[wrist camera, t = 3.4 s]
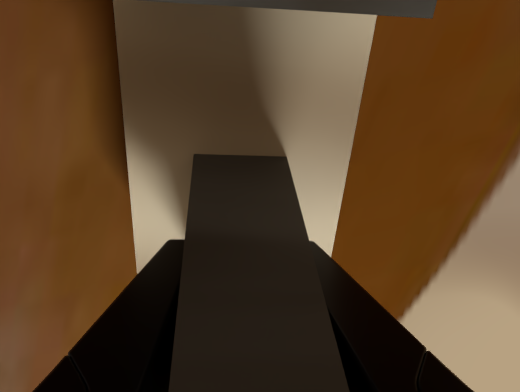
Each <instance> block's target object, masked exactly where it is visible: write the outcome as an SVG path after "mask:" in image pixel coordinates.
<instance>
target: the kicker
mask: <svg viewBox="0 0 520 392" xmlns="http://www.w3.org/2000/svg"><path fill="white" fill-rule="evenodd" d="M436 2H437V0H113V7H114V19H115V30H116V41H117V52H118V64H119V75H120V86H121V97H122V109H123V120H124V131H125V142H126V154H127V165H128V176H129V187H130V198H131V210H132V221H133V232H134V243H135V255H136V266H137V274H138V273H139V272H140V271H141V270H142V269H143V267H144V266H145V265H146V264H147V263H148V262H149V261H150V260H151V258H152V257H153V256H154V255H155V254H156V253H157V252H158V251H159V249H160V248H161V247H162V246H163V245H164V244H165V243H166V241H168V240H169V239H185V241H184V250H183V260H182V269H181V279H180V288H179V298H178V307H177V317H176V326H175V335H174V345H173V354H172V364H171V373H170V383H169V392H350V391H349V388H348V384H347V380H346V376H345V373H344V369H343V365H342V361H341V358H340V354H339V350H338V346H337V343H336V339H335V335H334V332H333V328H332V324H331V320H330V317H329V313H328V309H327V305H326V302H325V298H324V294H323V290H322V287H321V283H320V279H319V275H318V272H317V268H316V264H315V260H314V257H313V253H312V249H311V245H310V242H309V241H314V242H315V243H316V244H317V245H318V246H319V247H320V248H322V249H323V250H324V251H325V252H326V253H327V254H328V255H329V256H330V257H331V254H332V249H333V244H334V239H335V233H336V228H337V223H338V218H339V212H340V207H341V202H342V197H343V191H344V186H345V181H346V175H347V170H348V165H349V160H350V154H351V149H352V144H353V139H354V133H355V128H356V123H357V118H358V112H359V107H360V102H361V96H362V91H363V86H364V81H365V75H366V70H367V65H368V60H369V54H370V49H371V44H372V39H373V33H374V28H375V23H376V17H377V15H384V16H401V17H417V18H433V14H434V10H435V6H436Z"/></svg>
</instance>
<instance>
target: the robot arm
mask: <svg viewBox="0 0 520 392" xmlns="http://www.w3.org/2000/svg"><path fill="white" fill-rule="evenodd" d="M184 241H185V239H169V240H168V241H166V243H165V244H164V245H163V246H162V247H161V248H160V249H159V251H158V252H157V253H156V254H155V255H154V256H153V257H152V258H151V260H150V261H149V262H148V263H147V264H146V265H145V266H144V267H143V269H142V270H141V271H140V272H139V273H138V274H137V275H136V277H135V278H134V279H133V280H132V281H131V282H130V283H129V284H128V286H127V287H126V288H125V289H124V290H123V291H122V292H121V293H120V295H119V296H118V297H117V298H116V299H115V300H114V301H113V303H112V304H111V305H110V306H109V307H108V308H107V309H106V310H105V312H104V313H103V314H102V315H101V316H100V317H99V318H98V320H97V321H96V322H95V323H94V324H93V325H92V326H91V327H90V329H89V330H88V331H87V332H86V333H85V334H84V335H83V336H82V338H81V339H80V340H79V341H78V342H77V343H76V344H75V346H74V347H73V348H72V349H71V350H70V351H69V352H68V356H64V358H63V359H62V360H61V361H60V362H59V363H58V364H57V366H56V367H55V368H54V369H53V370H52V371H51V372H50V373H49V374H48V376H47V377H46V378H45V379H44V380H43V381H42V382H41V383H40V384H39V385H38V386H37V387H36V388H35V389H34V390H33V392H169V383H170V373H171V364H172V354H173V345H174V335H175V326H176V317H177V307H178V298H179V288H180V279H181V269H182V260H183V250H184ZM309 242H310V245H311V249H312V253H313V257H314V260H315V264H316V268H317V272H318V275H319V279H320V283H321V287H322V290H323V294H324V298H325V302H326V305H327V309H328V313H329V317H330V320H331V324H332V328H333V332H334V335H335V339H336V343H337V346H338V350H339V354H340V358H341V361H342V365H343V369H344V373H345V376H346V380H347V384H348V388H349V391H350V392H474V391H473V390H471V389H470V388H469V387H468V386H467V385H465V383H463V382H462V381H461V380H460V379H459V378H458V377H457V376H456V375H455V374H454V373H452V372H451V371H450V370H449V369H448V368H447V367H446V366H445V365H444V364H443V363H442V362H440V360H438V359H437V358H436V357H435V356H434V355H433V354H432V353H431V352H430V351H426V347H425V346H424V345H422V344H421V343H420V342H419V341H418V340H417V339H416V338H415V337H414V336H413V335H412V334H411V333H410V332H409V331H408V330H407V329H406V328H405V327H404V326H403V325H401V324H400V323H399V322H398V321H397V320H396V319H395V318H394V317H393V316H392V315H391V314H390V313H389V312H388V311H387V310H386V309H385V308H384V307H383V306H381V305H380V304H379V303H378V302H377V301H376V300H375V299H374V298H373V297H372V296H371V295H370V294H369V293H368V292H367V291H366V290H365V289H364V288H363V287H361V286H360V285H359V284H358V283H357V282H356V281H355V280H354V279H353V278H352V277H351V276H350V275H349V274H348V273H347V272H346V271H345V270H344V269H343V268H342V267H340V266H339V265H338V264H337V263H336V262H335V261H334V260H333V259H332V258H331V257H330V256H329V255H328V254H327V253H326V252H325V251H324V250H323V249H322V248H320V247H319V246H318V245H317V244H316V243H315V242H314V241H309Z"/></svg>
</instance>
